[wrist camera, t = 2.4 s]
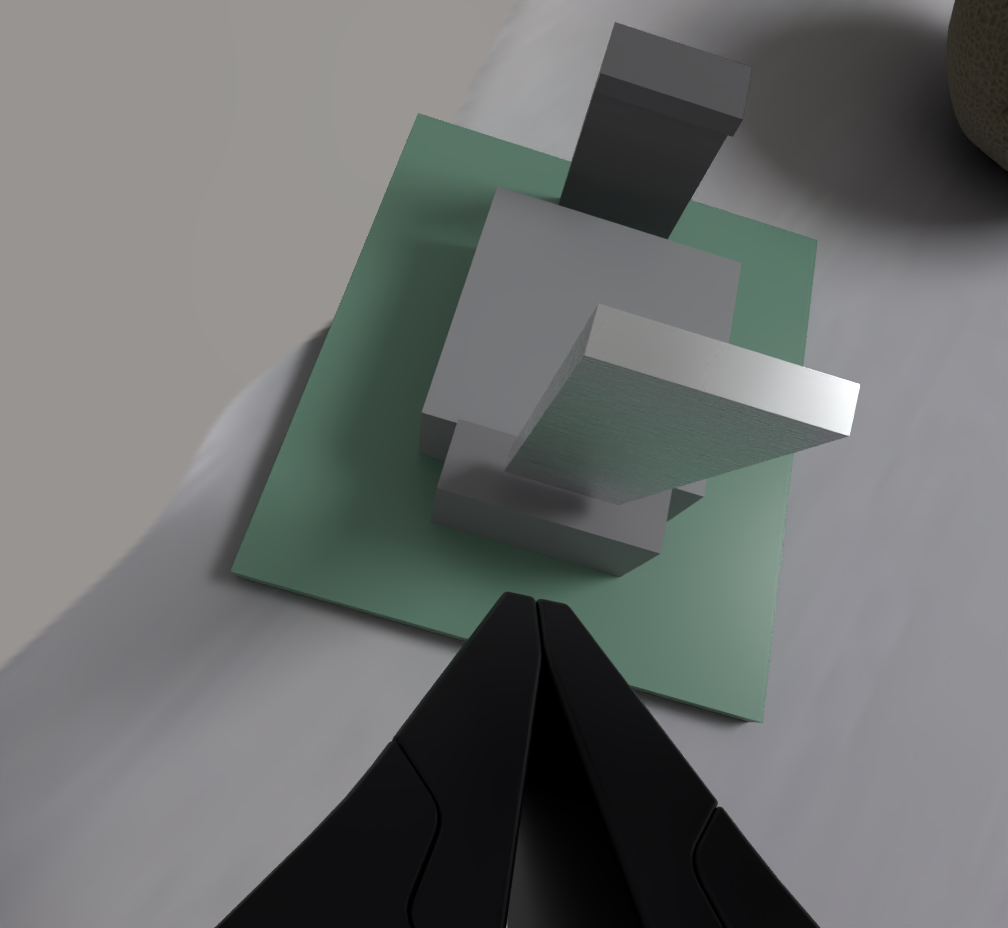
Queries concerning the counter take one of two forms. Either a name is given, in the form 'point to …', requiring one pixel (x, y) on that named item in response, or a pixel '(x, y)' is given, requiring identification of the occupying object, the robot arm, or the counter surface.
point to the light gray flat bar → (670, 411)
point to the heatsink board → (390, 490)
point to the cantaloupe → (980, 73)
